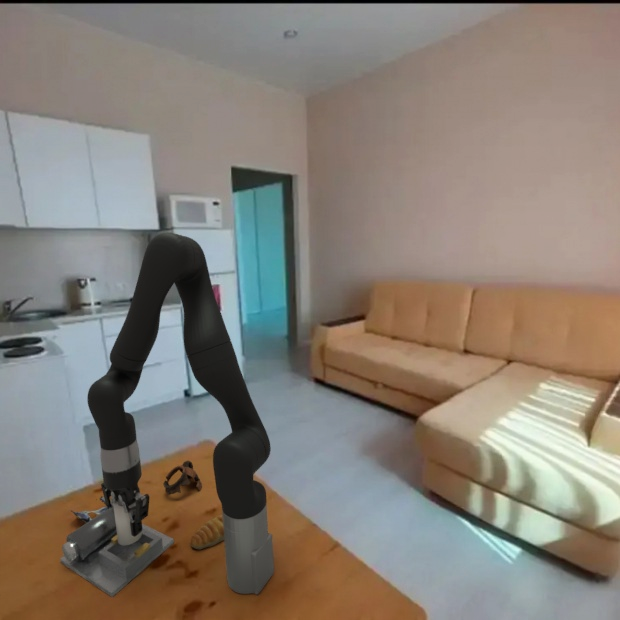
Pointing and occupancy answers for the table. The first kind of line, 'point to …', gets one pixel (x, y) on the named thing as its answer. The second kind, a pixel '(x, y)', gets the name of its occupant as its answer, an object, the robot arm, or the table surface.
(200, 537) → the pastry
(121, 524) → the white cylinder roll
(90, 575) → the motor unit
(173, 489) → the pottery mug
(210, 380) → the robot arm
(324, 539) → the table surface
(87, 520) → the snack package
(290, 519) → the table surface
